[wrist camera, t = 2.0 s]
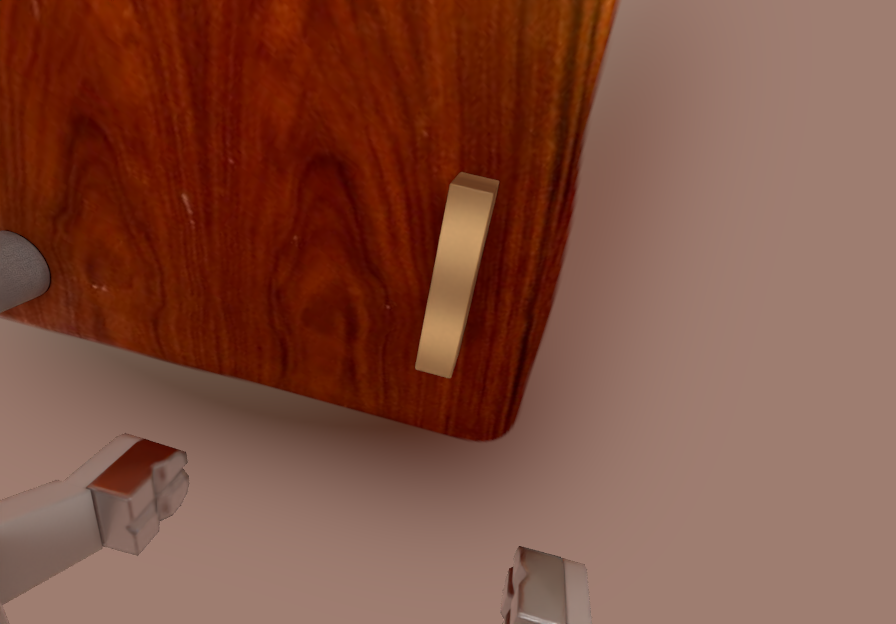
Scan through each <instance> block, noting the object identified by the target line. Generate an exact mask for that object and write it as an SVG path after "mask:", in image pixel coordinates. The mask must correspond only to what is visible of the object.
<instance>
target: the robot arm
mask: <svg viewBox="0 0 896 624" xmlns="http://www.w3.org/2000/svg"><path fill="white" fill-rule="evenodd" d="M186 464H187V454H186V452H184V451H181V450H178V449H175V448H172V447H169V446H165V445H162V444H159V443H156V442H153V441H149V440H146V439H143V438H140V437H136V436H133V435H129V434H126V433H125V434H122V435H120V436H117V437H116V438H115V439H113V440H112V441H111V442H110V443H109V444H107V445H106V446H105V447H104V448H102V449H101V450H100V451H99V452H98V453H97V454H95V455H94V456H93V457H92V458H90V459H89V460H88V461H87V462H86V463H85V464H83V465H82V466H81V467H80V468H78V469H77V470H76V471H75V472H74V473H72V474H71V475H70V476H69V477H68V478H66V479H65V480H64V481H59V480H55V481H52V482H50V483H47V484H44V485H41V486H38V487H36V488H33V489H30V490H28V491H24V492H22V493H19V494H16V495H13V496H11V497H8V498H5V499H2V500H0V624H9V622H8V619H7V616H6V614H5V611H4V609H3V606H2V605H3V604H5V603H7V602H9V601H10V600H12V599H14V598H16V597H18V596H19V595H21V594H23V593H24V592H26V591H28V590H30V589H32V588H33V587H35V586H37V585H39V584H40V583H42V582H44V581H46V580H48V579H49V578H51V577H53V576H55V575H56V574H58V573H60V572H62V571H64V570H65V569H67V568H69V567H71V566H72V565H74V564H76V563H78V562H80V561H81V560H83V559H85V558H87V557H88V556H90V555H92V554H94V553H95V552H97V551H99V550H101V549H102V546H104V547H108V548H112V549H115V550H119V551H122V552H126V553H130V554H133V555H137V556H138V555H139V554H140V553H141V552H142V551H143V549H144V548H145V547H146V546H147V545H148V544H149V542H150V541H151V540H152V539H153V538H154V537H155V535H156V534H157V533H158V532H159V525H160V521H161V520H164V519H166V518H168V517H170V516H172V515H173V514H174V513H175V512H176V511H177V509H178V508H179V507H180V506H181V504H182V502H183V500H184V498H185V496H186V494H187V491H188V487H189V476H188V474H187V473H186V472H185V470H184V469H183V467H184V466H185V465H186ZM587 579H588V578H587V569H586V567H585V565H584V564H581V563H578V562H574V561H571V560H567V559H564V558H561V557H558V556H555V555H551V554H547V553H544V552H540V551H536V550H533V549H529V548H525V547H521V546H519V547H518V548H517V550H516V553H515V555H514V564H513V567H512V568H509V571H508V574H507V576H506V580H505V585H504V589H503V595H502V602H501V614H502V616H503V618H504V621H503V624H592V620H591V610H590V601H589V600H590V599H589V589H588V580H587Z"/></svg>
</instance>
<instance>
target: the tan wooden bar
mask: <svg viewBox="0 0 896 624" xmlns="http://www.w3.org/2000/svg"><path fill="white" fill-rule="evenodd" d="M498 186H499V181H498V180H493V179H489V178H485V177H481V176H476V175H472V174H468V173H463V172H460V173H459V174H458V176H457V177H456V178H455V179H454V180H453V181H452V182H451V183H450V185H449V191H448V196H447V201H446V206H445V212H444V217H443V222H442V228H441V233H440V238H439V243H438V249H437V254H436V259H435V264H434V270H433V275H432V280H431V286H430V291H429V296H428V301H427V307H426V312H425V317H424V323H423V328H422V333H421V338H420V344H419V349H418V354H417V359H416V365H415V369H416V370H420V371H423V372H427V373H431V374H435V375H439V376H442V377H446V378H451V377H452V373H453V370H454V367H455V364H456V361H457V358H458V355H459V351H460V347H461V343H462V339H463V335H464V330H465V326H466V322H467V318H468V313H469V309H470V305H471V301H472V296H473V292H474V288H475V284H476V280H477V275H478V271H479V267H480V263H481V258H482V254H483V250H484V246H485V241H486V237H487V233H488V229H489V224H490V220H491V216H492V212H493V208H494V203H495V199H496V195H497V191H498Z"/></svg>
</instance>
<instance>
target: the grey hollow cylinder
mask: <svg viewBox="0 0 896 624" xmlns="http://www.w3.org/2000/svg"><path fill="white" fill-rule="evenodd" d="M49 284H50V273H49V269H48V266H47V264H46V262H45V260H44V258H43V256H42V255H41V254H40V252H39V251H38V250H37V249H36V248H35V247H34V246H33V245H32V244H31V243H30V242H29V241H28V240H26V239H25V238H23V237H22V236H20V235H18V234H15V233H13V232H9V231H0V313H1V312H3V311H5V310H8V309H10V308H12V307H15V306H17V305H20V304H22V303H24V302H27V301H29V300H31V299H34V298H36V297H38V296H40V295H42V294H43V293H45V292H46V290H47V289H48V287H49Z"/></svg>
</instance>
